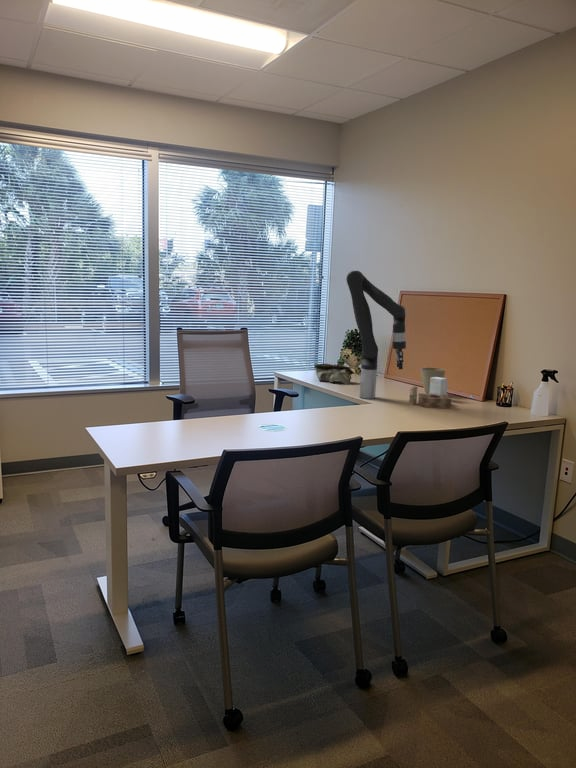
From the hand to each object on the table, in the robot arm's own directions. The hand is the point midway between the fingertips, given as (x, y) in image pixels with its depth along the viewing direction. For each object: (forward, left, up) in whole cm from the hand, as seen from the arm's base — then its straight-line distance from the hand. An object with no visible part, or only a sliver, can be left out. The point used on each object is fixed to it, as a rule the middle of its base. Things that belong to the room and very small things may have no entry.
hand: (399, 368), depth 334 cm
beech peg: (+8, -9, -19) cm, 22 cm away
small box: (+25, +9, -19) cm, 33 cm away
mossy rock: (-38, +55, -19) cm, 70 cm away
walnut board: (+20, -9, -19) cm, 29 cm away
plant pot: (+24, +26, -19) cm, 40 cm away
